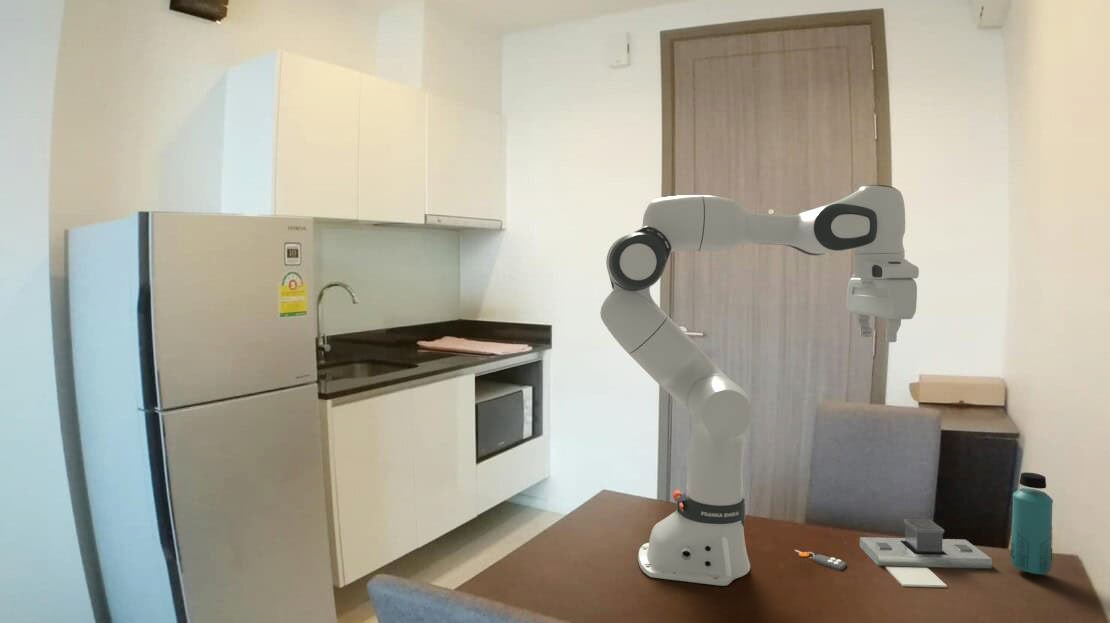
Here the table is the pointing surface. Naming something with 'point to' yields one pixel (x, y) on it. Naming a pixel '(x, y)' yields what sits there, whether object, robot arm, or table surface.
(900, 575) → the pad
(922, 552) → the dark grey box
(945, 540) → the cabinet panel
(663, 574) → the robot arm
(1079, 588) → the table surface
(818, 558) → the key chain
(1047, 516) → the beverage bottle
